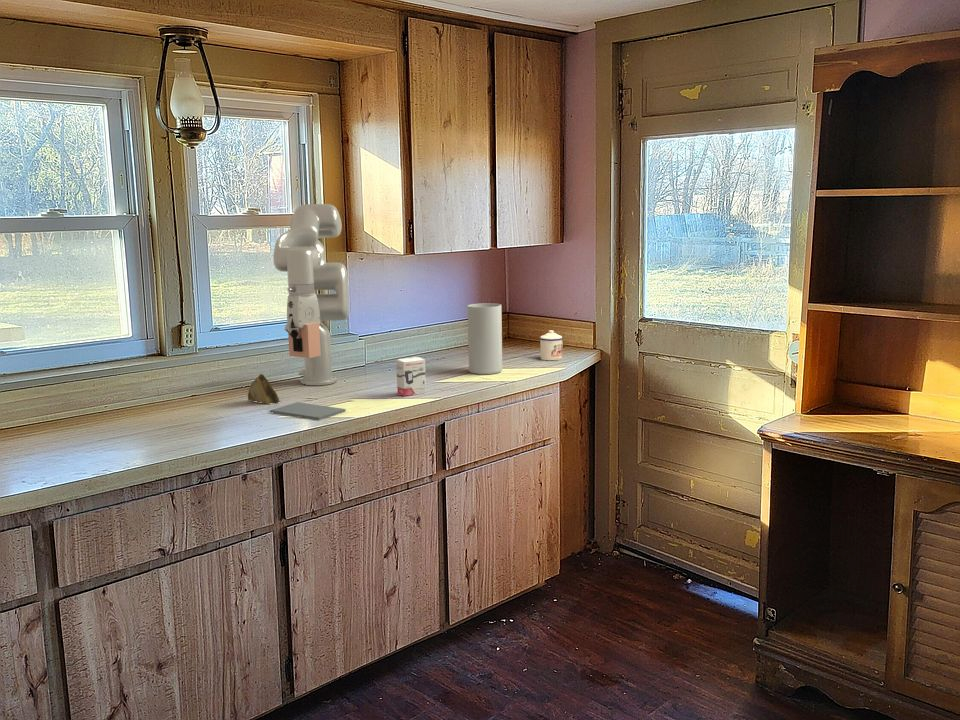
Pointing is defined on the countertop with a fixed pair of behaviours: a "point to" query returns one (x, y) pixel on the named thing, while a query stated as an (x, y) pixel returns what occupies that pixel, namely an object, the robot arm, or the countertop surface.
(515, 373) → the countertop surface
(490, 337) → the cylinder vase
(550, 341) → the teacup with lid
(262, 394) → the rock
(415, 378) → the ink box
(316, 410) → the mat
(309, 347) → the terracotta block
